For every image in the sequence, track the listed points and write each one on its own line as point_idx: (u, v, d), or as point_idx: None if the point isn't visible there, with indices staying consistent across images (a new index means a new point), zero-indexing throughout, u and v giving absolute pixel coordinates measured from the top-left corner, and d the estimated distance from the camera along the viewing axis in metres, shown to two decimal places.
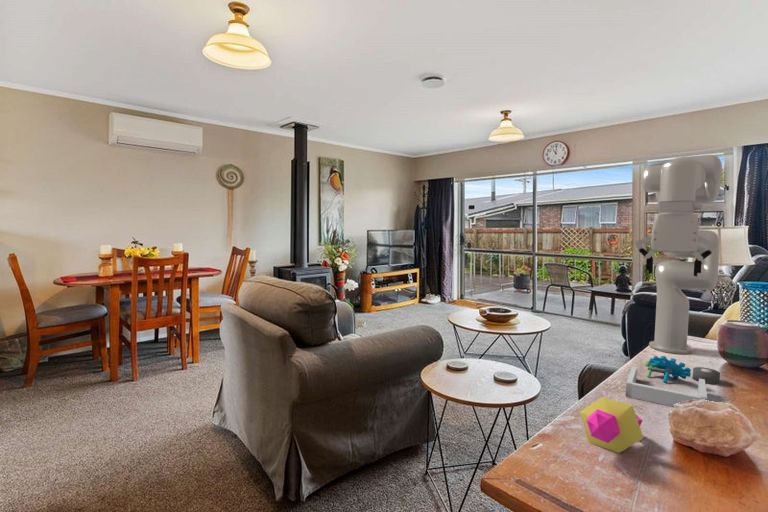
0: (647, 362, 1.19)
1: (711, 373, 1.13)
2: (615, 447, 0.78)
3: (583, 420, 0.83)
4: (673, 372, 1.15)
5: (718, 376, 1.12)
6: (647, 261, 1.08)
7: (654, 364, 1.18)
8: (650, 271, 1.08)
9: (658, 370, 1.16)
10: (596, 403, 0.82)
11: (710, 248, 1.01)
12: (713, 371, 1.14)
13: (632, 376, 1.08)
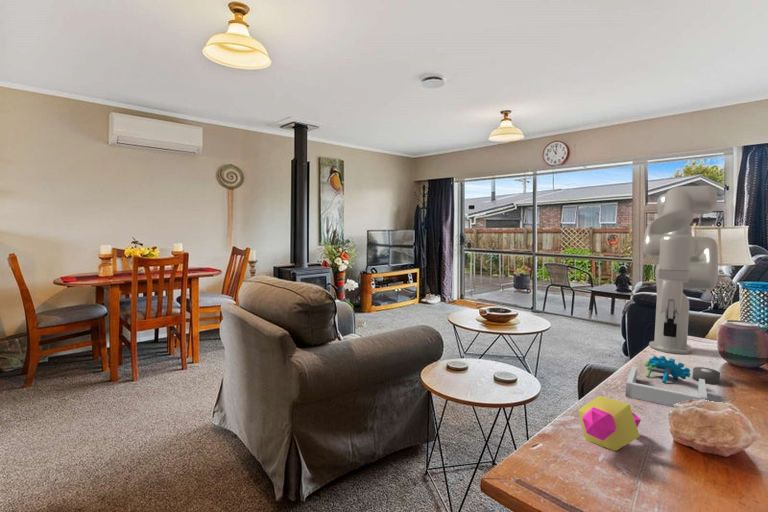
0: (647, 362, 1.19)
1: (711, 373, 1.13)
2: (611, 445, 0.79)
3: (581, 418, 0.84)
4: (673, 372, 1.15)
5: (718, 376, 1.12)
6: (673, 326, 1.21)
7: (654, 364, 1.18)
8: None
9: (657, 370, 1.16)
10: (594, 401, 0.83)
11: None
12: (713, 371, 1.14)
13: (632, 376, 1.08)
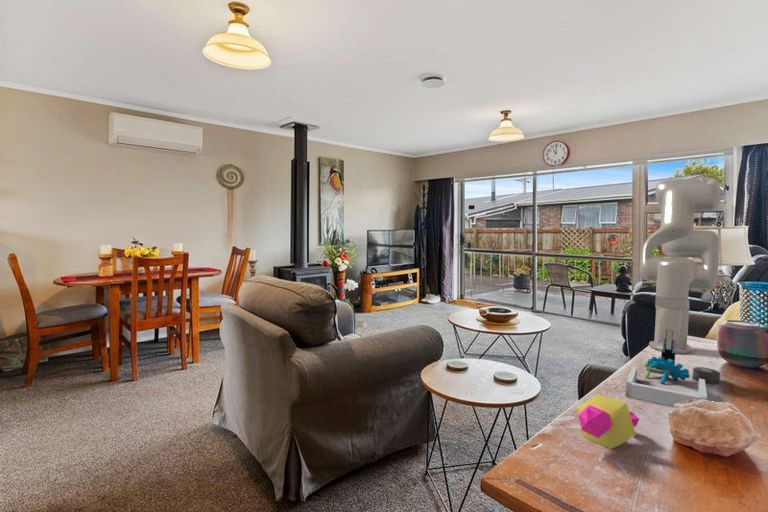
0: (646, 363, 1.19)
1: (711, 373, 1.13)
2: (608, 443, 0.80)
3: (579, 416, 0.85)
4: (672, 373, 1.14)
5: (718, 376, 1.12)
6: (671, 356, 1.15)
7: (653, 364, 1.17)
8: None
9: (656, 371, 1.15)
10: (592, 400, 0.84)
11: None
12: (713, 371, 1.14)
13: (632, 376, 1.08)
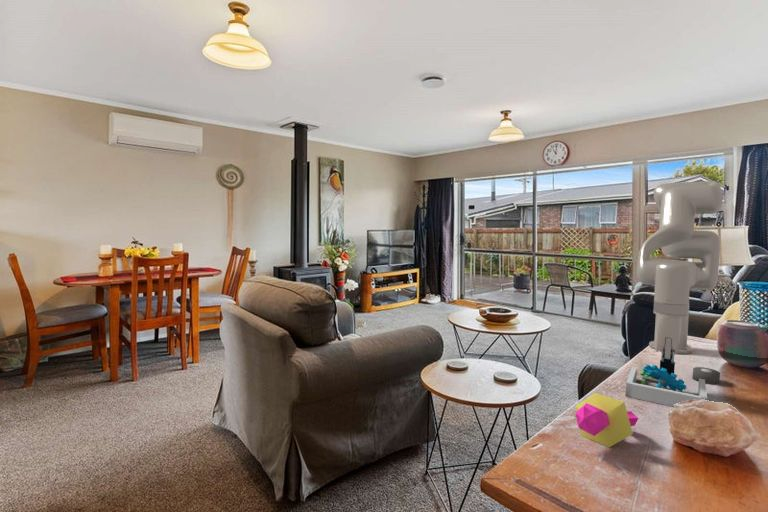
0: (642, 371, 1.12)
1: (711, 373, 1.13)
2: (605, 442, 0.80)
3: None
4: (668, 383, 1.07)
5: (718, 376, 1.12)
6: (670, 366, 1.07)
7: (649, 373, 1.10)
8: None
9: (651, 380, 1.08)
10: (590, 398, 0.85)
11: None
12: (713, 371, 1.14)
13: (632, 376, 1.08)
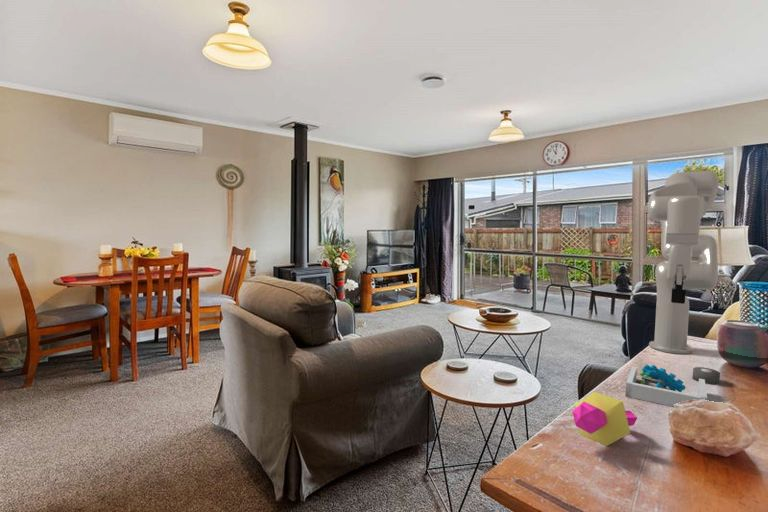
0: (642, 371, 1.12)
1: (711, 373, 1.13)
2: (603, 440, 0.81)
3: None
4: (668, 384, 1.07)
5: (718, 376, 1.12)
6: (681, 292, 1.15)
7: (649, 373, 1.10)
8: None
9: (651, 380, 1.08)
10: (589, 397, 0.85)
11: None
12: (713, 371, 1.14)
13: (632, 376, 1.08)
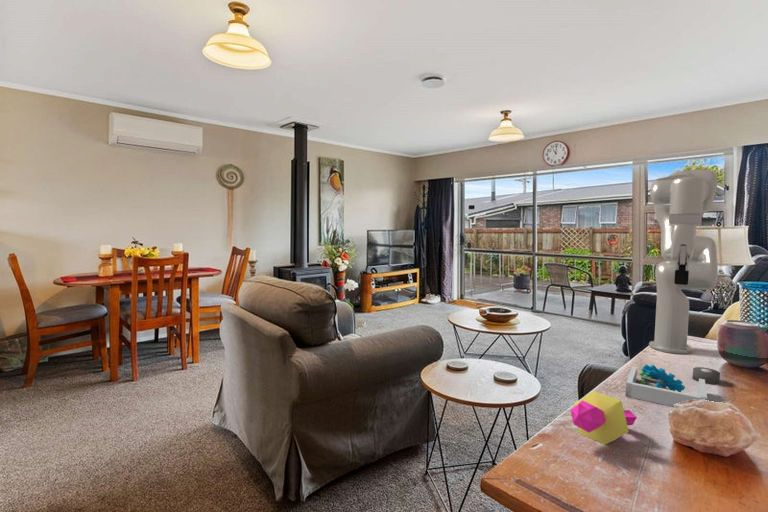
0: (642, 371, 1.12)
1: (711, 373, 1.13)
2: (601, 439, 0.81)
3: None
4: (667, 384, 1.06)
5: (718, 376, 1.12)
6: (685, 273, 1.15)
7: (649, 373, 1.10)
8: None
9: (650, 380, 1.08)
10: (588, 396, 0.86)
11: None
12: (713, 371, 1.14)
13: (632, 376, 1.08)
